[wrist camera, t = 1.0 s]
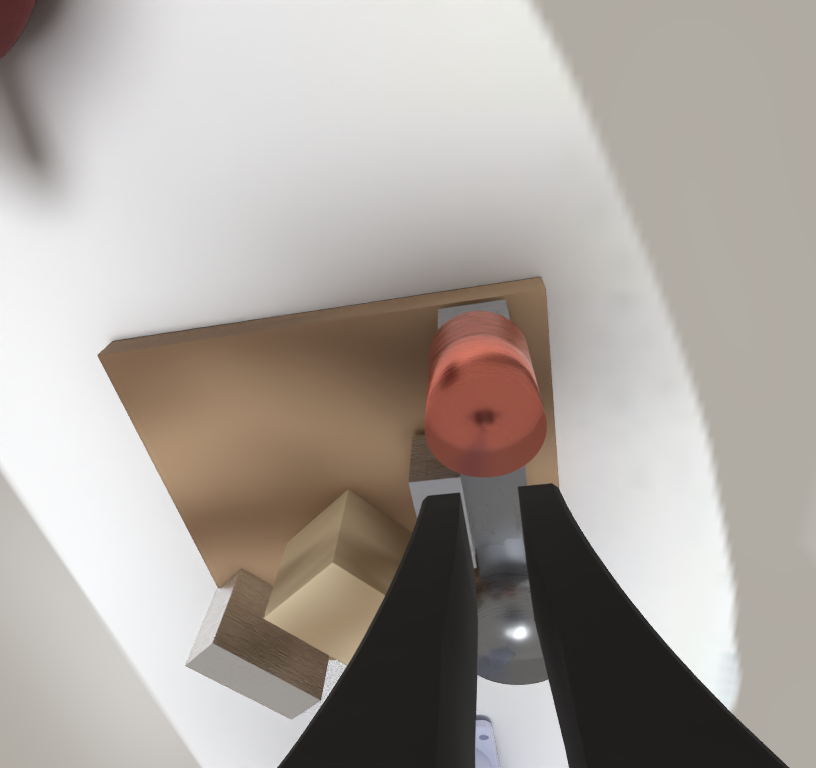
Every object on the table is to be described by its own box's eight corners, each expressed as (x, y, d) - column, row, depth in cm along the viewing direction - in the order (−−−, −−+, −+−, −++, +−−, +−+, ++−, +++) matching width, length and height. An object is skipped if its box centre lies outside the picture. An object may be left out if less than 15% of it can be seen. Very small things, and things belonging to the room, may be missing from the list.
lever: (562, 607, 24) (588, 732, 20) (452, 615, 25) (453, 738, 20) (539, 281, 17) (571, 367, 12) (383, 304, 17) (362, 394, 13)
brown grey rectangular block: (335, 622, 26) (320, 700, 23) (308, 642, 27) (291, 719, 24) (241, 567, 24) (212, 643, 21) (216, 590, 25) (185, 665, 22)
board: (565, 625, 26) (569, 645, 26) (263, 645, 29) (257, 664, 28) (540, 277, 18) (546, 289, 17) (112, 341, 20) (97, 355, 19)
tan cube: (427, 543, 23) (424, 620, 20) (363, 590, 24) (352, 668, 22) (348, 489, 22) (332, 562, 19) (286, 543, 23) (263, 618, 20)
